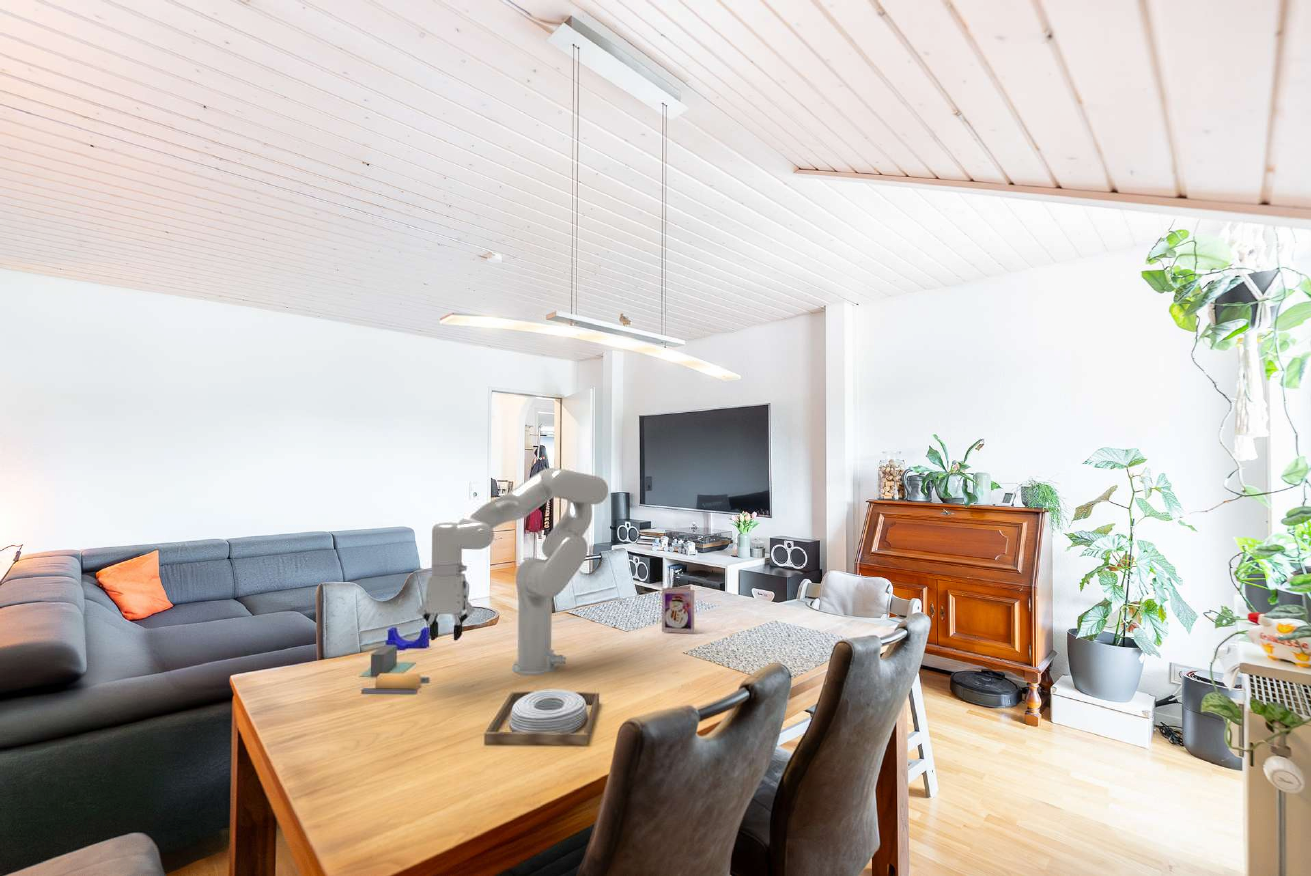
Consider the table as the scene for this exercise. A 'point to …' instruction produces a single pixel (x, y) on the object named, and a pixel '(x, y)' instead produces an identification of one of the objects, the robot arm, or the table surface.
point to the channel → (393, 689)
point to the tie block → (383, 660)
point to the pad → (398, 669)
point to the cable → (549, 712)
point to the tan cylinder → (398, 681)
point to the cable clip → (403, 644)
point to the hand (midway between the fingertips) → (445, 638)
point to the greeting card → (678, 609)
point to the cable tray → (539, 737)
